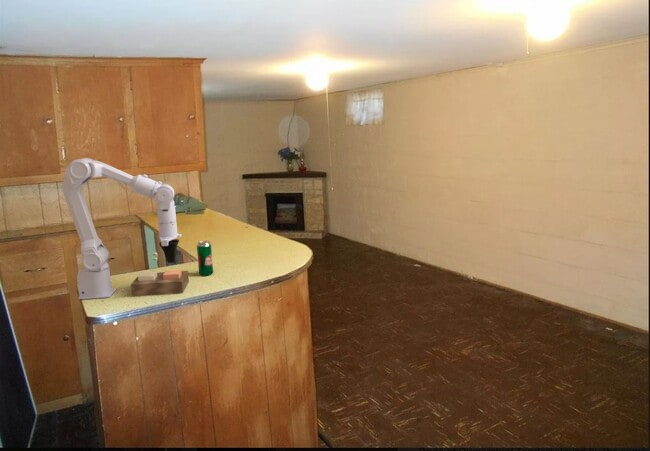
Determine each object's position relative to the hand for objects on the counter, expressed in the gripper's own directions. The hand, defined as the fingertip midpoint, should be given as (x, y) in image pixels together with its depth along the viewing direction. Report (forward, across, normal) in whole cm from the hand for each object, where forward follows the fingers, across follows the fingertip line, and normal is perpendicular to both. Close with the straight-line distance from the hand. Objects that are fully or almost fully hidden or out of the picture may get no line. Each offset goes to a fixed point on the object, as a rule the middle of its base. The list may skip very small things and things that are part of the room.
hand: (171, 262), depth 165 cm
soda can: (+9, +14, -9) cm, 19 cm away
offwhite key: (+6, 0, +8) cm, 10 cm away
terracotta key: (+6, 0, 0) cm, 6 cm away
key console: (+9, 0, +4) cm, 10 cm away
